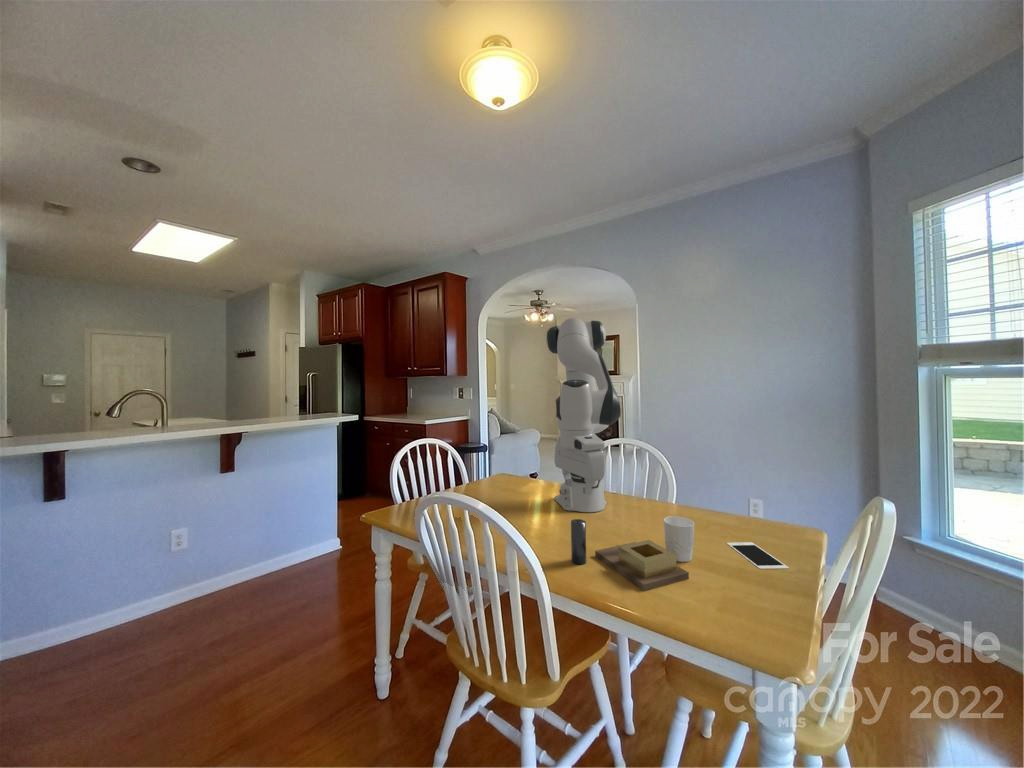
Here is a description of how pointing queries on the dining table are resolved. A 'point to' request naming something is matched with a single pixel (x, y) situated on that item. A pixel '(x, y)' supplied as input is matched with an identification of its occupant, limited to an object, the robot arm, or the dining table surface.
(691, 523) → the white cup
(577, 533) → the steel pin
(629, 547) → the square brass washer
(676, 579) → the walnut board
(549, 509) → the dining table surface
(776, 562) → the cell phone
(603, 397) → the robot arm
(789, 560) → the dining table surface
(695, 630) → the dining table surface
